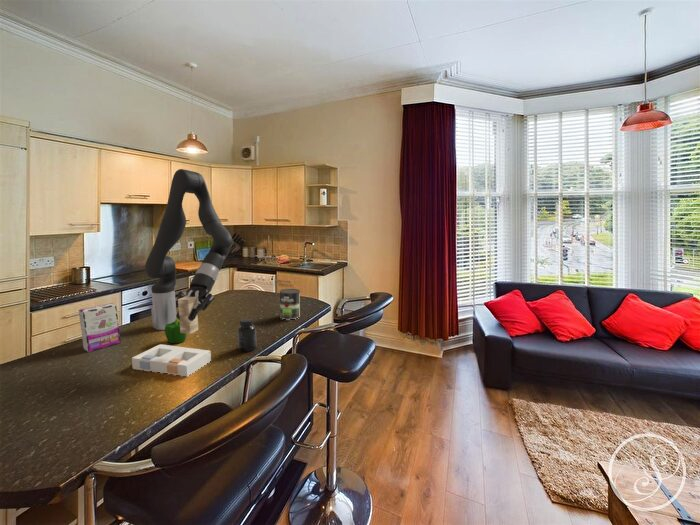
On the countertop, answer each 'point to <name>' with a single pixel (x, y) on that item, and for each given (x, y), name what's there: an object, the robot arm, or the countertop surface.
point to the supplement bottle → (247, 335)
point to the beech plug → (184, 311)
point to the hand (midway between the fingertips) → (184, 319)
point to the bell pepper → (174, 332)
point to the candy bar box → (99, 327)
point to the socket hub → (171, 360)
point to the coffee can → (289, 304)
